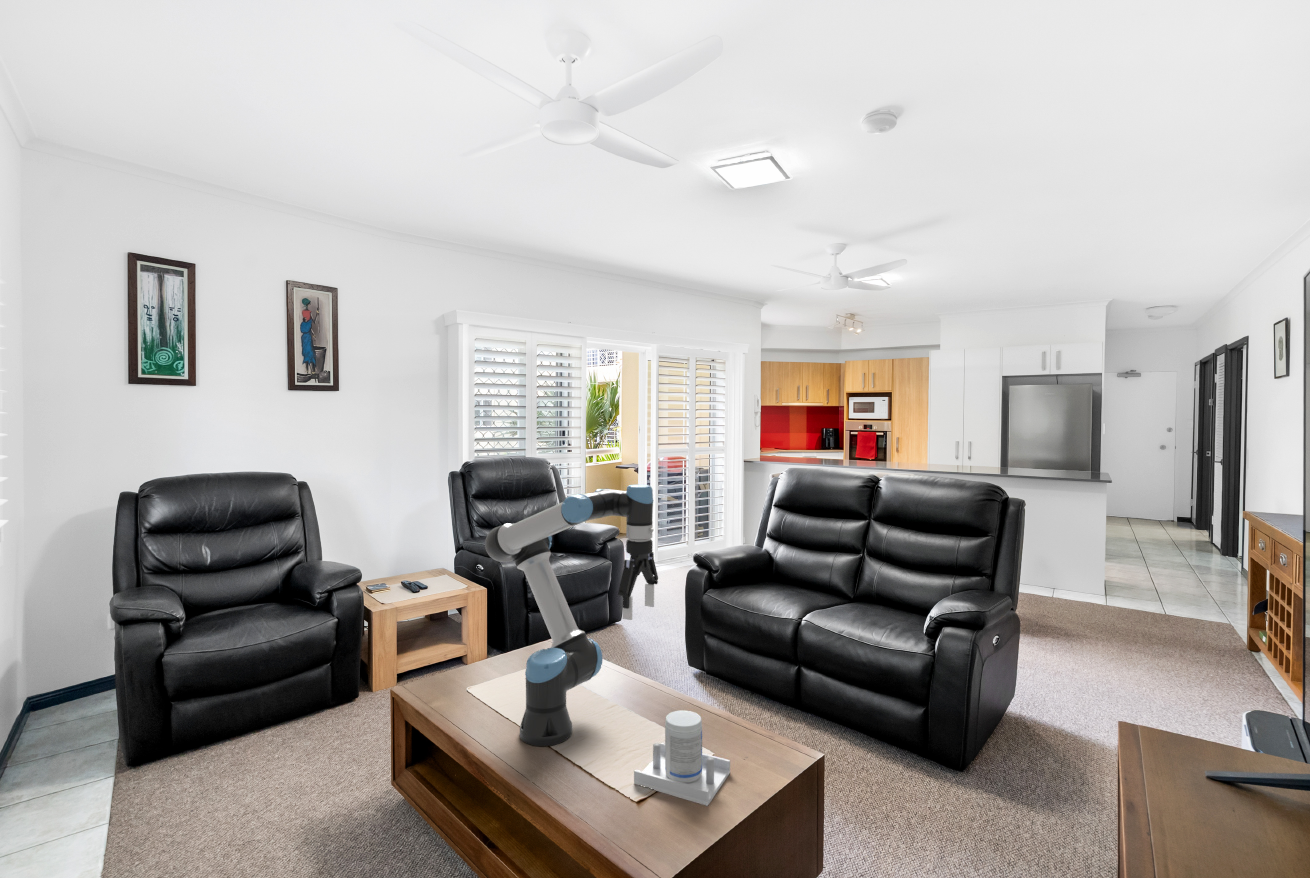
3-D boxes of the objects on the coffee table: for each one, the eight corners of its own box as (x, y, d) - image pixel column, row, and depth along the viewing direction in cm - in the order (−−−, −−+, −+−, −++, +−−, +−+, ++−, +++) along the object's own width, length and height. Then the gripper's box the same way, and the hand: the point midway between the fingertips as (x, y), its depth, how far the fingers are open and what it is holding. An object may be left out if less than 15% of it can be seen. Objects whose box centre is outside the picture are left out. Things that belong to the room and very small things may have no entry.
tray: (633, 784, 163) (634, 757, 163) (661, 754, 178) (661, 729, 177) (707, 805, 154) (707, 777, 154) (730, 772, 169) (730, 746, 169)
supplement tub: (709, 777, 165) (710, 720, 164) (679, 789, 160) (680, 730, 159) (686, 760, 173) (687, 706, 172) (657, 770, 168) (658, 715, 167)
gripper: (630, 548, 171) (629, 627, 172) (669, 533, 194) (668, 603, 195) (605, 545, 175) (605, 622, 176) (647, 530, 197) (646, 599, 198)
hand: (638, 612), depth 185 cm, fingers open, 13 cm apart
